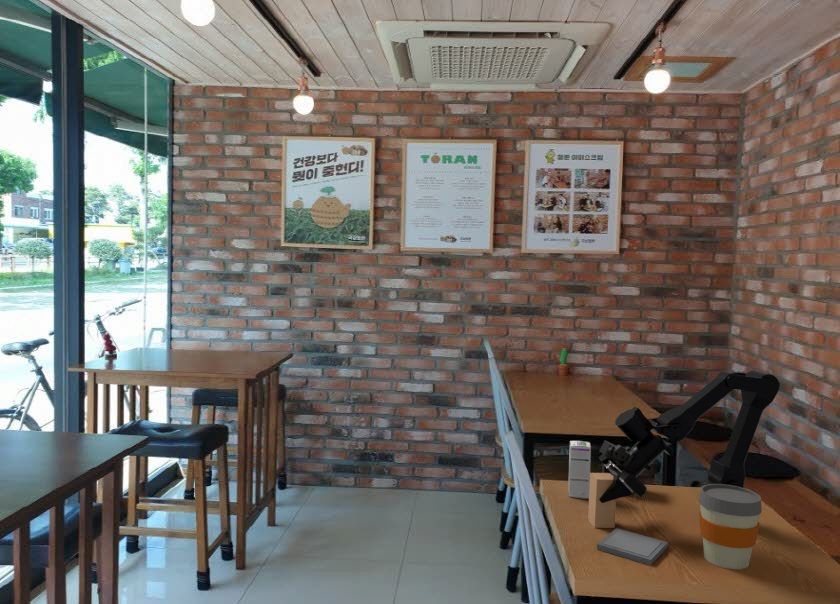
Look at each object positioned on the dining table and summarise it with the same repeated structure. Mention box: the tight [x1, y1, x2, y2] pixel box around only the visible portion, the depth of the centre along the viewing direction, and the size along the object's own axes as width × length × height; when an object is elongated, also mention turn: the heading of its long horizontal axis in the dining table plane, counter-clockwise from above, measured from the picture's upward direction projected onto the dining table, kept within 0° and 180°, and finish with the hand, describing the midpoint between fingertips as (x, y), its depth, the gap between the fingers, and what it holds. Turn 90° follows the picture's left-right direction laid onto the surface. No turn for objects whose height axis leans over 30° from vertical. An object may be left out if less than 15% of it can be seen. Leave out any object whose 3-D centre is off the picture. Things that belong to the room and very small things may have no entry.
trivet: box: [596, 527, 669, 566], centre depth 149 cm, size 12×12×1 cm
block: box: [587, 472, 617, 529], centre depth 163 cm, size 5×5×12 cm
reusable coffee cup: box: [698, 483, 763, 570], centre depth 145 cm, size 13×13×15 cm
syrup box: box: [567, 440, 592, 500], centre depth 183 cm, size 6×6×14 cm
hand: (596, 497), depth 163 cm, fingers closed on block, 5 cm apart
